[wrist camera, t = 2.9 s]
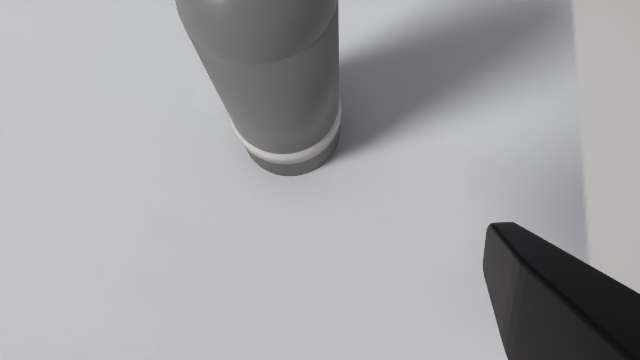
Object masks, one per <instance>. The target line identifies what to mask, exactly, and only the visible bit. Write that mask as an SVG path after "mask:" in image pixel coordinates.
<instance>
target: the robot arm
mask: <svg viewBox="0 0 640 360" xmlns="http://www.w3.org/2000/svg"><path fill="white" fill-rule="evenodd" d="M483 272H484V277H485V281H486V284H487V288H488V292H489V295H490V299H491V303H492V306H493V310H494V314H495V317H496V321H497V325H498V328H499V332H500V336H501V339H502V343H503V346H504V349H505V352H506V355H507V358H508V360H640V294H639V293H637V292H635V291H634V290H632V289H630V288H628V287H627V286H625V285H623V284H621V283H620V282H618V281H616V280H614V279H613V278H611V277H609V276H607V275H606V274H604V273H602V272H600V271H598V270H597V269H595V268H593V267H592V266H590V265H588V264H586V263H584V262H583V261H581V260H579V259H577V258H576V257H574V256H572V255H570V254H569V253H567V252H565V251H563V250H562V249H560V248H558V247H556V246H555V245H553V244H551V243H549V242H548V241H546V240H544V239H542V238H541V237H539V236H537V235H535V234H534V233H532V232H530V231H528V230H526V229H525V228H523V227H521V226H519V225H518V224H516V223H514V222H500V223H491V224H490V225H489V226H488V228H487V232H486V240H485V248H484V257H483Z"/></svg>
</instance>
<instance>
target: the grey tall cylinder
mask: <svg viewBox="0 0 640 360" xmlns="http://www.w3.org/2000/svg"><path fill="white" fill-rule="evenodd" d="M175 1H176V6H177V10H178V13H179V16H180V19H181V21H182V23H183V25H184V28H185V30H186V32H187V34H188V36H189V38H190V39H191V41H192V43H193V45H194V47H195V49H196V51H197V53H198V55H199V57H200V59H201V61H202V63H203V65H204V67H205V69H206V71H207V73H208V75H209V77H210V79H211V81H212V83H213V84H214V86H215V88H216V90H217V92H218V94H219V96H220V98H221V100H222V102H223V104H224V106H225V108H226V110H227V112H228V114H229V119H230V122H231V125H232V127H233V129H234V131H235V133H236V135H237V137H238V138H239V140H240V142H241V143H242V144H243V146H244V147H245V148H246V149H247V151H248V153H249V154H250V156H251V158H252V159H253V160H254V161H255V162H256V163H257V164H258V165H259V166H260V167H262V168H263V169H265V170H267V171H269V172H271V173H274V174H277V175H282V176H297V175H302V174H306V173H309V172H311V171H313V170H315V169H317V168H318V167H320V166H321V165H322V164H323V163H325V162H326V161H327V160H328V158H329V157H330V156H331V154H332V153H333V151H334V149H335V148H336V145H337V142H338V138H339V126H340V121H341V110H342V103H341V93H340V89H339V36H338V0H175Z"/></svg>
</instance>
